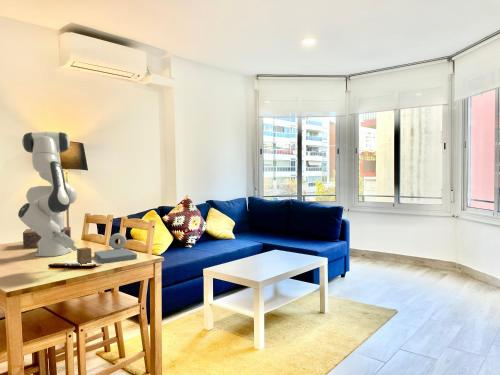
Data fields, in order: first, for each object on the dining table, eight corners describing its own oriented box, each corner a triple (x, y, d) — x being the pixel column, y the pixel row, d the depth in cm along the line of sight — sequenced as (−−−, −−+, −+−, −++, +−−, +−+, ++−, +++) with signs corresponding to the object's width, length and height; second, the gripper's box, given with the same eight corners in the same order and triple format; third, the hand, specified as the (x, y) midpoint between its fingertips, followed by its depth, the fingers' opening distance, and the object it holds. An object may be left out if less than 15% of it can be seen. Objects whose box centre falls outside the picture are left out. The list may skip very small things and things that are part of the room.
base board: (94, 256, 215) (94, 252, 215) (126, 252, 225) (126, 248, 225) (102, 263, 200) (102, 258, 200) (136, 258, 210) (136, 254, 210)
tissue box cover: (70, 241, 257) (70, 226, 257) (70, 245, 244) (69, 230, 243) (26, 244, 247) (26, 229, 247) (23, 249, 234) (22, 232, 233)
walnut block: (77, 266, 194) (76, 248, 194) (87, 264, 198) (86, 247, 197) (81, 268, 191) (81, 250, 190) (91, 266, 194) (91, 248, 194)
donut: (109, 250, 230) (108, 234, 229) (109, 249, 233) (109, 233, 233) (126, 249, 233) (126, 233, 232) (126, 248, 236) (126, 232, 236)
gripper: (63, 228, 176) (85, 246, 184) (46, 223, 190) (67, 240, 197) (53, 239, 173) (76, 257, 181) (37, 233, 187) (58, 250, 194)
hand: (71, 248), depth 189 cm, fingers open, 8 cm apart
